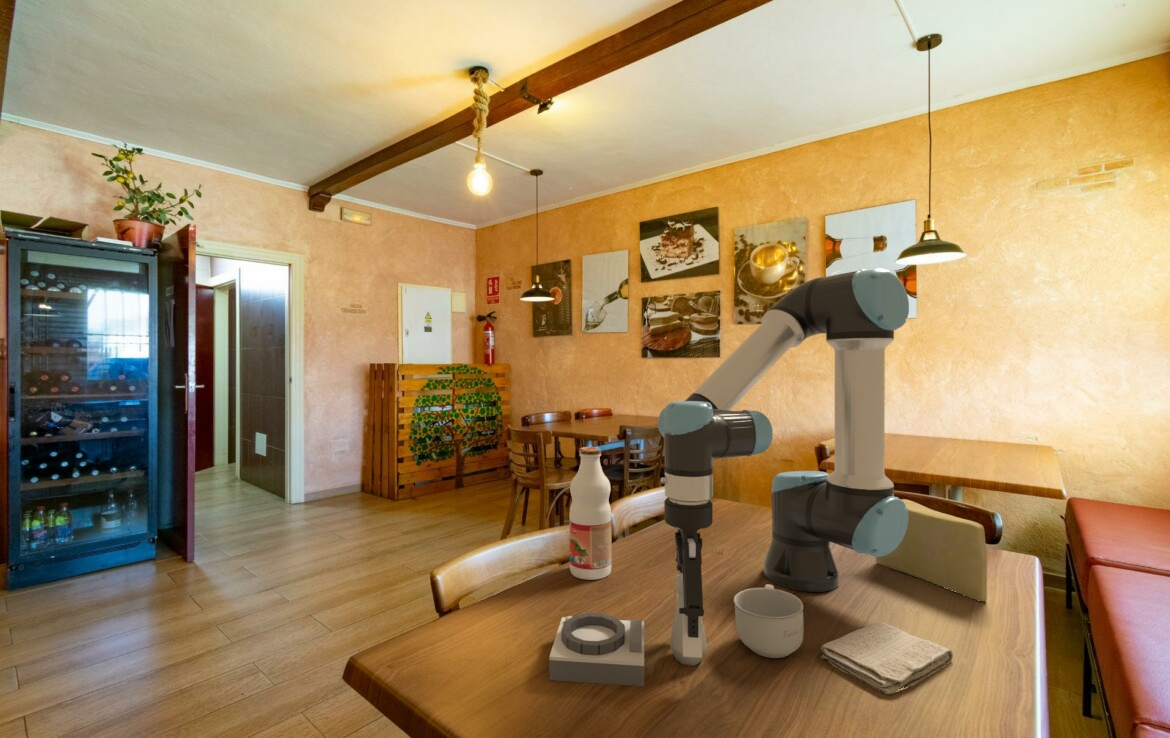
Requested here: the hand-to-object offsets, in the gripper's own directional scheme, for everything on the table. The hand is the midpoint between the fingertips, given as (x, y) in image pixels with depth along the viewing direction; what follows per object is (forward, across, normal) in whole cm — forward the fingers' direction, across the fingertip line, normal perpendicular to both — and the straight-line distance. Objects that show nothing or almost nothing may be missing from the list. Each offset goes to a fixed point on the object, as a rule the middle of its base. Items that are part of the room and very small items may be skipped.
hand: (688, 631), depth 82 cm
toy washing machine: (+4, +2, -14) cm, 15 cm away
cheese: (+4, -36, +55) cm, 66 cm away
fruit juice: (+4, -32, -19) cm, 37 cm away
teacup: (+4, -6, +14) cm, 16 cm away
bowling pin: (+4, 0, 0) cm, 4 cm away
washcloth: (+5, -3, +31) cm, 31 cm away
